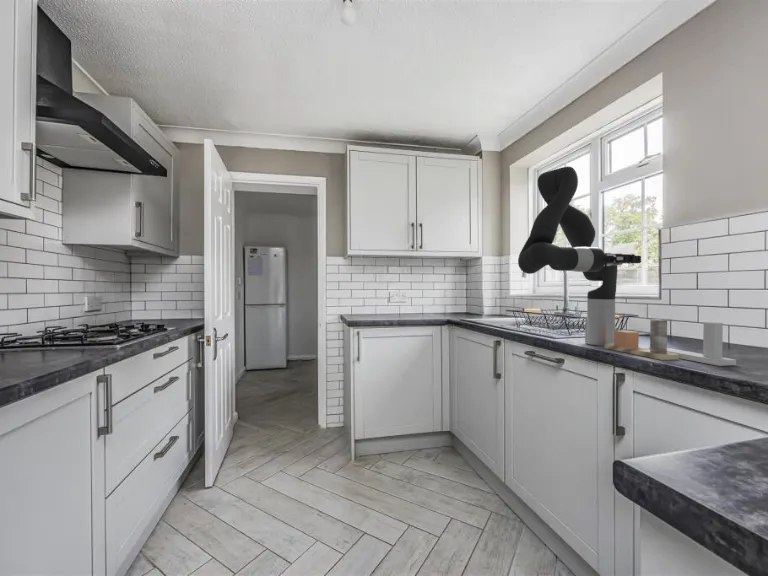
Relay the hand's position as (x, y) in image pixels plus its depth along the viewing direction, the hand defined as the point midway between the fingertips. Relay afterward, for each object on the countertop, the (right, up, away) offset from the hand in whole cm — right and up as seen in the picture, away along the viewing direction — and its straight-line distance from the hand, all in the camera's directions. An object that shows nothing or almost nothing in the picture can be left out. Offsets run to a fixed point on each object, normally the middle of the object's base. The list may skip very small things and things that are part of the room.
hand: (628, 260), depth 120 cm
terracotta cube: (+6, -28, +11) cm, 31 cm away
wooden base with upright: (+7, -30, +6) cm, 31 cm away
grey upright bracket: (+17, -30, -2) cm, 35 cm away
